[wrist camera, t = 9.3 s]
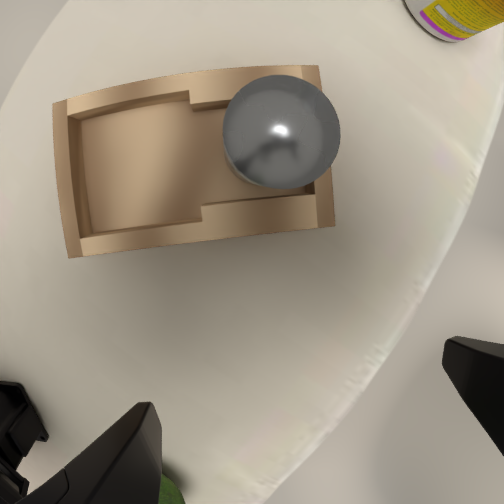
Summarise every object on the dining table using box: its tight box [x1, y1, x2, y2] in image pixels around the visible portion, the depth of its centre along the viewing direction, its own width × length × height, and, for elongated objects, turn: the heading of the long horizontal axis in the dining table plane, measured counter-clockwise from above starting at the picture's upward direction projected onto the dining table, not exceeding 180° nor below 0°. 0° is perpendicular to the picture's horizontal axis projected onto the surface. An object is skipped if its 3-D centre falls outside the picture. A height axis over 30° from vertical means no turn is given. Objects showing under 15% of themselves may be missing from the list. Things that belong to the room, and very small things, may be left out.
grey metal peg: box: [223, 75, 340, 189], centre depth 14 cm, size 4×4×8 cm
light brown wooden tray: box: [53, 65, 335, 258], centre depth 17 cm, size 15×9×2 cm, turn 96°
